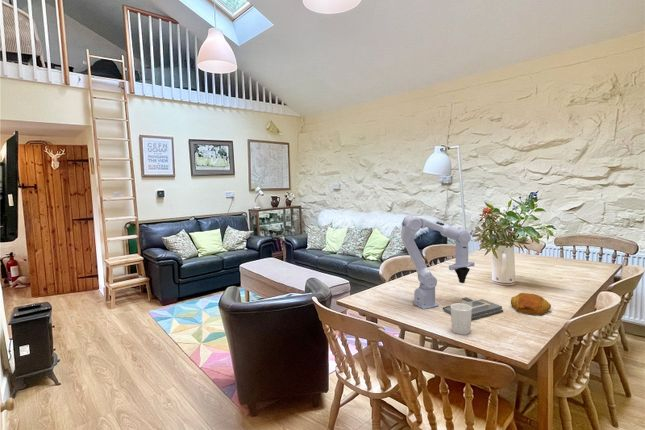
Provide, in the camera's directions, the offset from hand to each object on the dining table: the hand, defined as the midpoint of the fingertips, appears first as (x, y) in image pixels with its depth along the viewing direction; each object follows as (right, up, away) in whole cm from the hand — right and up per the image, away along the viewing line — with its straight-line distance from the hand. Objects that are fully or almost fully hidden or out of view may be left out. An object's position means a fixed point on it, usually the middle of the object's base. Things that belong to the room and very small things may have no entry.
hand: (461, 282), depth 169 cm
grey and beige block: (-2, -10, -11) cm, 15 cm away
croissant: (+26, -10, -11) cm, 30 cm away
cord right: (+4, -12, -16) cm, 21 cm away
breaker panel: (+1, -11, -9) cm, 15 cm away
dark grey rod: (-2, -10, -3) cm, 11 cm away
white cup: (-12, -14, -29) cm, 35 cm away
